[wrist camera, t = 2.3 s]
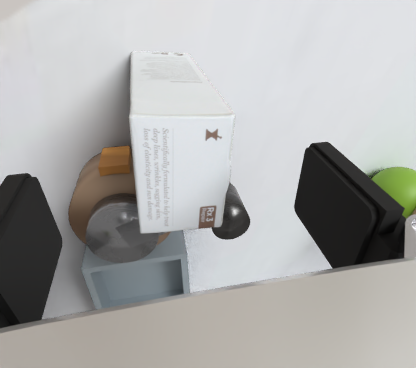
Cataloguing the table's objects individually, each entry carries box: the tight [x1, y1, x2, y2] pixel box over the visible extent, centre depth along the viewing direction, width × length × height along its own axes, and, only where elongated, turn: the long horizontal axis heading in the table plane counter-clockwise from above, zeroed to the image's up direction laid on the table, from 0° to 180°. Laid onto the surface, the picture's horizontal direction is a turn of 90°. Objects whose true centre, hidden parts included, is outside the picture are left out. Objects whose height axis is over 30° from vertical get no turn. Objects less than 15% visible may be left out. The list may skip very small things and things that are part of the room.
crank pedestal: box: [68, 146, 171, 246], centre depth 25 cm, size 9×8×4 cm
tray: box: [81, 230, 190, 310], centre depth 30 cm, size 9×9×4 cm
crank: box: [85, 182, 250, 263], centre depth 21 cm, size 11×5×5 cm, turn 111°
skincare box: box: [129, 51, 235, 234], centre depth 18 cm, size 6×4×12 cm
